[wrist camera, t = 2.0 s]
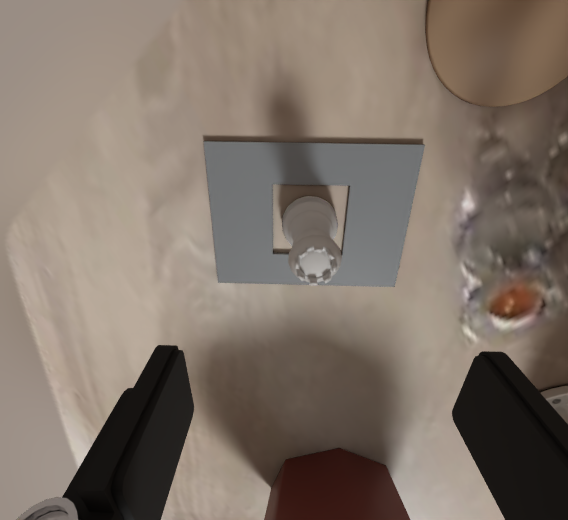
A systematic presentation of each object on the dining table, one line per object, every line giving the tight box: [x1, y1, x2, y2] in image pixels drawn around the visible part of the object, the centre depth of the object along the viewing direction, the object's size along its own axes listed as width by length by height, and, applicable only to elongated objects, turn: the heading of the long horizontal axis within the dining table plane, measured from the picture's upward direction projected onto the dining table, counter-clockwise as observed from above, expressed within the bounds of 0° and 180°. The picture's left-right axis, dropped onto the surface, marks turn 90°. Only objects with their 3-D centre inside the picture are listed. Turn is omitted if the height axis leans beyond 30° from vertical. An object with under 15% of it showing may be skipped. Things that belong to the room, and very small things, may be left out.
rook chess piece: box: [282, 196, 342, 286], centre depth 21 cm, size 4×4×8 cm
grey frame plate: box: [204, 141, 425, 287], centre depth 24 cm, size 16×12×1 cm
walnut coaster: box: [426, 0, 568, 107], centre depth 18 cm, size 11×11×1 cm
